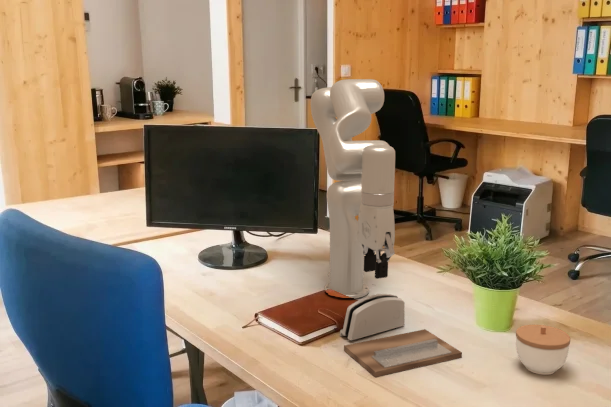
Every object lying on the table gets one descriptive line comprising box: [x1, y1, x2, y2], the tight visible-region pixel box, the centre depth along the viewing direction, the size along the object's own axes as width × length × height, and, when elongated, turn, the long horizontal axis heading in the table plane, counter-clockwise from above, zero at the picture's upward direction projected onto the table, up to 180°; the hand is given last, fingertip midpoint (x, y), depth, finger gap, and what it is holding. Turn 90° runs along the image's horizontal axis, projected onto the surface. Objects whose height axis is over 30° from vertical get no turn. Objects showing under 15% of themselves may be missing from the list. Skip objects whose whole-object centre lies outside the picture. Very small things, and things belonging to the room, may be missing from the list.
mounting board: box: [343, 328, 463, 378], centre depth 139 cm, size 14×22×1 cm, turn 114°
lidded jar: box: [515, 324, 571, 376], centre depth 132 cm, size 11×11×9 cm
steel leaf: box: [371, 339, 451, 368], centre depth 136 cm, size 6×17×1 cm, turn 114°
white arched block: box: [339, 293, 406, 341], centre depth 150 cm, size 17×5×10 cm, turn 123°
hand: (375, 273), depth 147 cm, fingers open, 4 cm apart
